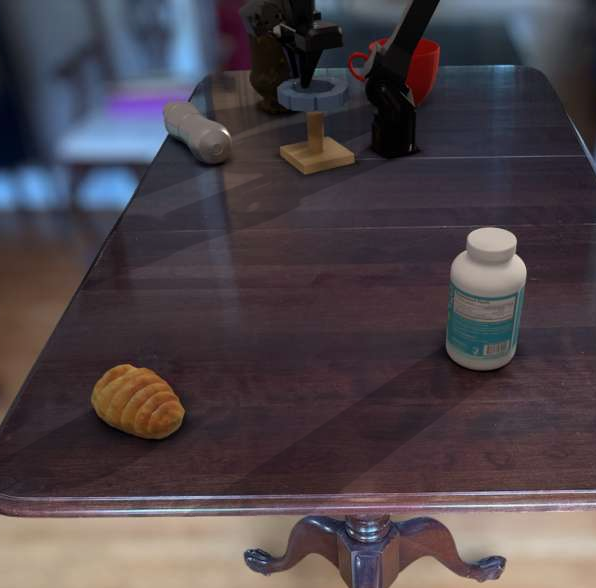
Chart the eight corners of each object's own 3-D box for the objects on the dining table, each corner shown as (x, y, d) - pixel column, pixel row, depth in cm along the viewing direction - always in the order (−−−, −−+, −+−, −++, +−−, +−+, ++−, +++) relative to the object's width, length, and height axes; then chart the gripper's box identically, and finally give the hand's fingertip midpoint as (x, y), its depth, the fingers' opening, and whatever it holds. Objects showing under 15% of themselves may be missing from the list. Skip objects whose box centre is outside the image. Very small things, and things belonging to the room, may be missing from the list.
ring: (327, 85, 115) (327, 72, 114) (359, 103, 109) (359, 90, 107) (268, 96, 112) (267, 83, 110) (298, 116, 105) (297, 102, 103)
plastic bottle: (231, 121, 111) (185, 87, 123) (190, 134, 108) (148, 98, 121) (240, 160, 115) (195, 123, 128) (202, 174, 113) (160, 135, 126)
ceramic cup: (351, 91, 142) (349, 36, 135) (436, 92, 141) (438, 37, 135) (346, 114, 132) (345, 56, 126) (438, 115, 132) (441, 56, 125)
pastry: (204, 417, 69) (197, 386, 66) (149, 456, 65) (139, 426, 62) (142, 380, 73) (134, 350, 71) (87, 415, 69) (75, 384, 67)
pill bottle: (469, 324, 80) (481, 213, 71) (527, 349, 77) (546, 235, 68) (431, 355, 76) (437, 241, 67) (490, 383, 72) (505, 266, 64)
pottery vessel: (270, 82, 147) (260, -29, 134) (323, 83, 146) (317, -29, 133) (244, 126, 128) (229, 1, 115) (304, 127, 127) (295, 2, 114)
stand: (328, 145, 121) (326, 99, 116) (354, 163, 115) (353, 115, 110) (280, 155, 118) (276, 109, 113) (304, 174, 112) (301, 126, 107)
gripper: (216, -33, 105) (231, 79, 115) (268, -10, 93) (280, 112, 103) (285, -41, 109) (293, 68, 119) (343, -20, 97) (347, 99, 107)
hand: (301, 86), depth 112 cm, fingers closed on ring, 2 cm apart
